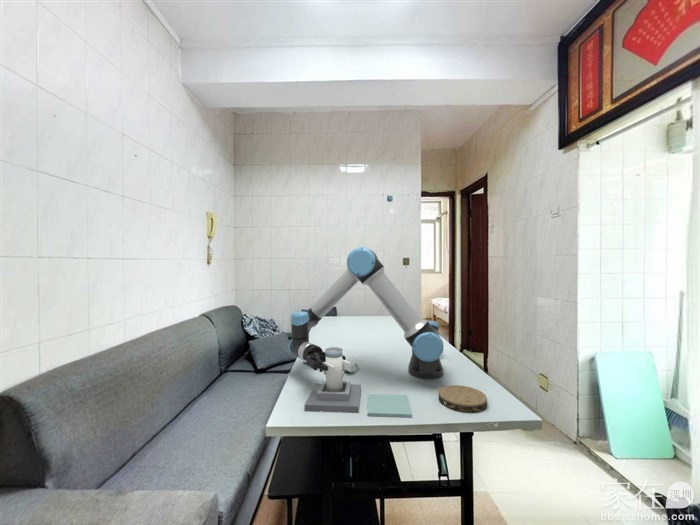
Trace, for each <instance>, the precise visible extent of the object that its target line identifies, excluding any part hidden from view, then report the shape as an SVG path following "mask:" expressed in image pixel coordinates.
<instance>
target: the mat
mask: <svg viewBox="0 0 700 525" xmlns="http://www.w3.org/2000/svg"><path fill="white" fill-rule="evenodd" d="M412 416H413V415H412V409H411V406H410V402H409V397H408V395H407V394H387V393H386V394H385V393H384V394H381V393H379V394H378V393H368V395H367V417H384V418H385V417H387V418H412Z"/></svg>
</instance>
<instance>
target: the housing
mask: <svg viewBox="0 0 700 525" xmlns="http://www.w3.org/2000/svg"><path fill="white" fill-rule="evenodd" d="M361 393H362V384H356V383H355V384H352V381H351V380H350V381H349V380H348V381H347V380H343V389H342V390H341V391H339V392H329V391H327V390H326V380H322V381H321V383H314V386H312V389H311V390H310V394H309V395H308V397H307V399H306V401H305V403H304V412H320V411H323V412H322V413H327V412H328V413H356V414H357V413H359V412H360V402H361V400H360V399H361Z"/></svg>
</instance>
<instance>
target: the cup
mask: <svg viewBox="0 0 700 525" xmlns="http://www.w3.org/2000/svg"><path fill="white" fill-rule="evenodd" d="M324 350H325V351H324V352H325V356H326V363H328V364H330V365H332V366H334V367H335V375H332V374H330V373H328V372H326V371H325V381H326V390H327V391H329V392H339V391H341V390H342V389H343V381H344V380H343V375H344V374H343V370H344V368H343V367H342V355H343V356H344V354H343V348H342V347H336V346H335V347H333V346H332V347H328V348H326V349H324Z"/></svg>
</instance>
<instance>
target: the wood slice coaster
mask: <svg viewBox="0 0 700 525" xmlns="http://www.w3.org/2000/svg"><path fill="white" fill-rule="evenodd" d="M487 400H488V397H487V395H486V394H485V393H484V392H482V391H481V390H479V389H476V388H474V387H470V386H467V385H466V386H465V385H458V384H451V385H445V386H442V387H441V388H439V389H438V401H439V403H440V404H441V405H442V406H443V405H444V406H443V407H445V408H446V407H447V408H446V409H448V408H449V409H448V410H452V411H454V412H458V413H463V414H479V413H482V412H484V411H485V410H486V409H487V407H488V401H487Z"/></svg>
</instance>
